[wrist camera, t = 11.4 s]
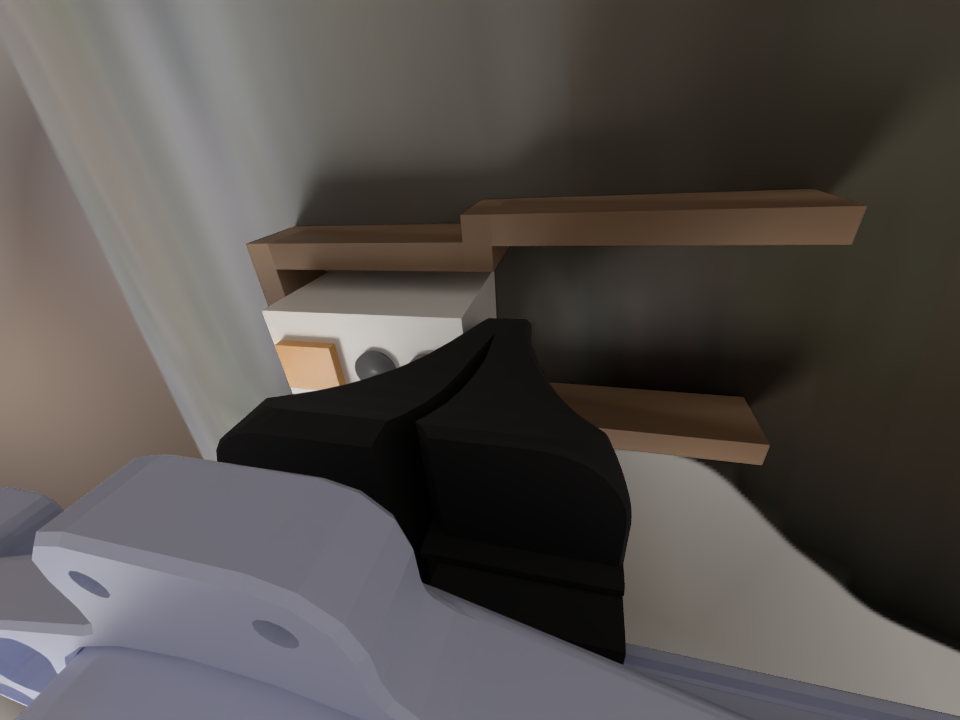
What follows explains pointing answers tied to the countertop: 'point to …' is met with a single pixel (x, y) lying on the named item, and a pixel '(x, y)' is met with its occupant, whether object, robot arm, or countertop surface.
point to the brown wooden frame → (585, 222)
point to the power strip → (373, 322)
